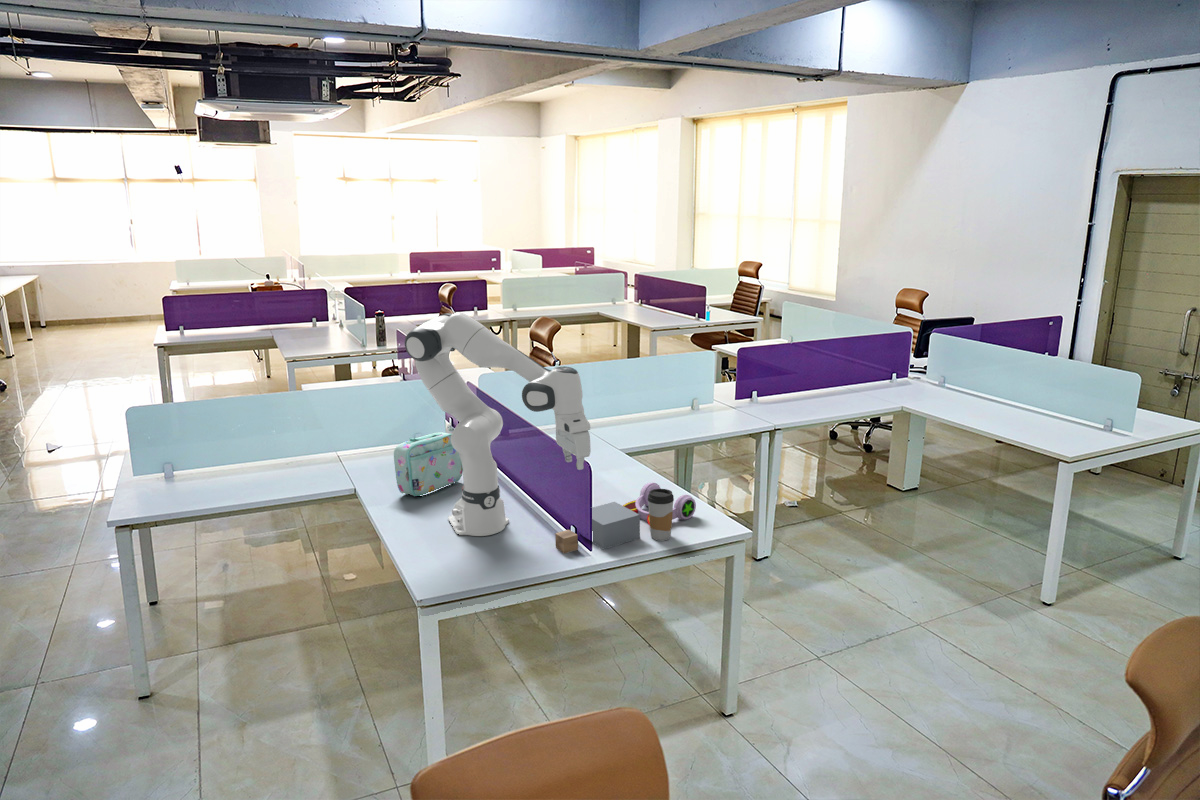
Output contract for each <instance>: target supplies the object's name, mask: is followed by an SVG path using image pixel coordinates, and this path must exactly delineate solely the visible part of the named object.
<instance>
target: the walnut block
mask: <svg viewBox="0 0 1200 800" xmlns="http://www.w3.org/2000/svg"><path fill="white" fill-rule="evenodd" d="M578 536H579V535H578V534H577V533H575V532H574V531H572V530H571V529H566V530H563V531H558V532H555V538H554V539H555V549H556V550H558V551H560V552H561V553H563V554H567V553H571V552H574V551H577V550H578V549H579V543H578V542H579V538H578Z"/></svg>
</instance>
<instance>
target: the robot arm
mask: <svg viewBox="0 0 1200 800" xmlns="http://www.w3.org/2000/svg"><path fill="white" fill-rule="evenodd" d="M404 347H405V350H406V353H407V354H408V355H409V357H410V358H412V359H413V360H415V361H414V366H415V369H416V372H417V373H418V375H419V377H420V379H421V381H422V383H423V385H424V386H425V388H426V390H428V392H429V393H430V395H431V397H433V399H434V400H435V402H436V404H437V405H438V406H439V408H440V409H441V410H442V411H443V412H445V413H447V414H449V415H451V416H452V418H455V420H456V421H458V422H459V423H457V424H456V426H455V427H454V429H453V431H452V432H451V434H452V435H451V443H452V446H453V447H454V449H455V450H456V451H457V452H458V454H459V457H460V460H461V463H462V468H463V473H462V477H463V478H462V479H463V485H462V488H461V490H462V491H461V498H460V499H458V501H456V502H455V503H454V505H453V509H452V510H451V512H452V513H451V515H449V516H448V517H447V520H448V519H449V521H450V523H451V524H450V523H449V524H450V526H451V525H452V526H453V527H452V526H451V527H452V529H453V528H454V529H453V530H455V531H454V533H455V534H456V533H457V534H459V535H458V536H473V537H484V536H485V537H486V536H491V535H495V534H497V533H500V532H502V531H503V530H504V529H505V528H506V526H507V524H509V523H510V518H509V517H506V511H505V510H506V509H505V502H504V499H502V498H501V490H500V485H499V482H498V480H499V479H498V463H497V462H496V461H495V459H494V458H493V454H492V452H491V451H492V450H491V443H492V442H493V441H494V440H495V439H496V438H498V436H499V435H500V433H501V431H502V429H503V427H504V426H503V425H504V420H503V417H502V415H501V414H500V412H499V411H497V410H496V409H495V408H491V407H490V406H488V405H487V404H486V403H484V402H483V400H481V398H479V397H478V396H477V395H476V393H474V392H473V391H472V389H471V387H469V386H468V384H467V383H466V382H465V380H464V378H463V377H462V376H461V374H460V373H459V371H458V370H457V369H456V367H455V366H454V365H453V363H452V361H451V360H450V352H455V351H457V352H458V353H459V354H461V355H462V356H463V357H464V358H466V359H467V360H469V362H471V363H472V364H475V365H476V366H478V367H480V368H484V369H485V368H489V369H491V368H492V369H493V368H494V369H495V368H498V369H499V368H501V369H505V370H507V369H508V370H510V371H512V372H514V373H516V374H517V375H519V376H520V377H521V378H523V379H525V380H526V381H527V384H525V385H524V387H523V388H522V391H521V398H522V399H521V400H522V402H523V405H524V406H525V407H526V408H527V409H528V410H530V411H531V412H537V413H538V412H544V411H548V410H553V411H554V413H553V414H554V422H555V428H554V429H555V441H556V444H557V445H558V446H559V447H561V448H562V452H563V456H564V461H565V462H566V463H572V462H573V456H575V458H576V463H575V467H576V469H577V470H579V471H581V470H584V466H585V465H584V462H585V458H588V457H590V455H591V449H592V448H591V435H590V431H591V423H590V421H588V419H587V417H586V414H585V408H584V405H583V389H582V381H581V376H580V373H579V371H578V370H577V369H575V368H573V367H572V366H570V367H569V366H563V365H562V366H556V367H553V368H552V369H548V368H546V367H544V366H543V365H541V364H540V363H538V362H537V361H535V360H534V359H533V358H531V357H529V356H528V355H527V354H525V353H524V352H522V351H521V350H519V349H517V348H516V347H514V346H513V345H511V344H509V343H508V342H506V341H505V340H503V339H502V338H500V337H499V336H498V335H496V334H495V333H494V332H492V331H491V330H490V329H489V328H487V327H486V326H485V325H483V324H482V323H481V322H479V321H478V320H476V319H474V318H472V317H471V316H469V315H468V314H465V313H463V312H455V313H442V314H440V315H438V316H435V317H432V318H430V319H428V320H426V321H425V322H424V323H422V324H420V325H419V326H417V327H415V328H413V329H412V330H410V331H409V332H408V333H407V334H406V336H405V338H404ZM449 521H448V522H449ZM457 534H456V535H457Z"/></svg>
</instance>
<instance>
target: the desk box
mask: <svg viewBox="0 0 1200 800" xmlns="http://www.w3.org/2000/svg"><path fill="white" fill-rule="evenodd" d="M591 508H592V531H593V542H592V543H593V544H594V545H596V546H597V547H599V548H601V549H602V550H605V549H608V548H612V547H615V546H619V545H622V544H625V543H629V542H632V541H636V540H639V539H641V519H640V515H639V514H637V513H635V512H634V511H632V510H630V509H628V508H626V507H624V506H623V505H622V504H620V503H618V502H616V501H611V502H607V503H603V504H601V505H597V506H593V507H591Z"/></svg>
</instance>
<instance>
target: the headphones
mask: <svg viewBox="0 0 1200 800" xmlns="http://www.w3.org/2000/svg"><path fill="white" fill-rule="evenodd" d="M653 489H662V488H661V486H660V484H658V483H656V482H647V483H645V484H644V485H643V486H642V488H641V490H640V492H639V496H638V497H637V499H636V500H635V499H634V500H632V501H629V502H626V503H625V504H623V505H622V506H624V507H626V508H628V509H630V510H632V511H634V512H635V513H637V514H639V515H640V520H642V521H645V522H647V525H648V526H649V527H650V522H649V511H647V510H643V509H642V507H643V506H646V507H649V504H648V495H649V492H650V491H651V490H653ZM696 507H697V504H696V500H695V499H694V498H693V497H692V496H691V495H689V494H682V495H680V496H679V497H677V499H676V500H675V502H674V503H673V511H672V512H673V514H672V521H673V520H675V519H678V520H682V521H683V520H690V519H691V518H692V517H693V515H694V513H695V512H696V510H697V509H696Z"/></svg>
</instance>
